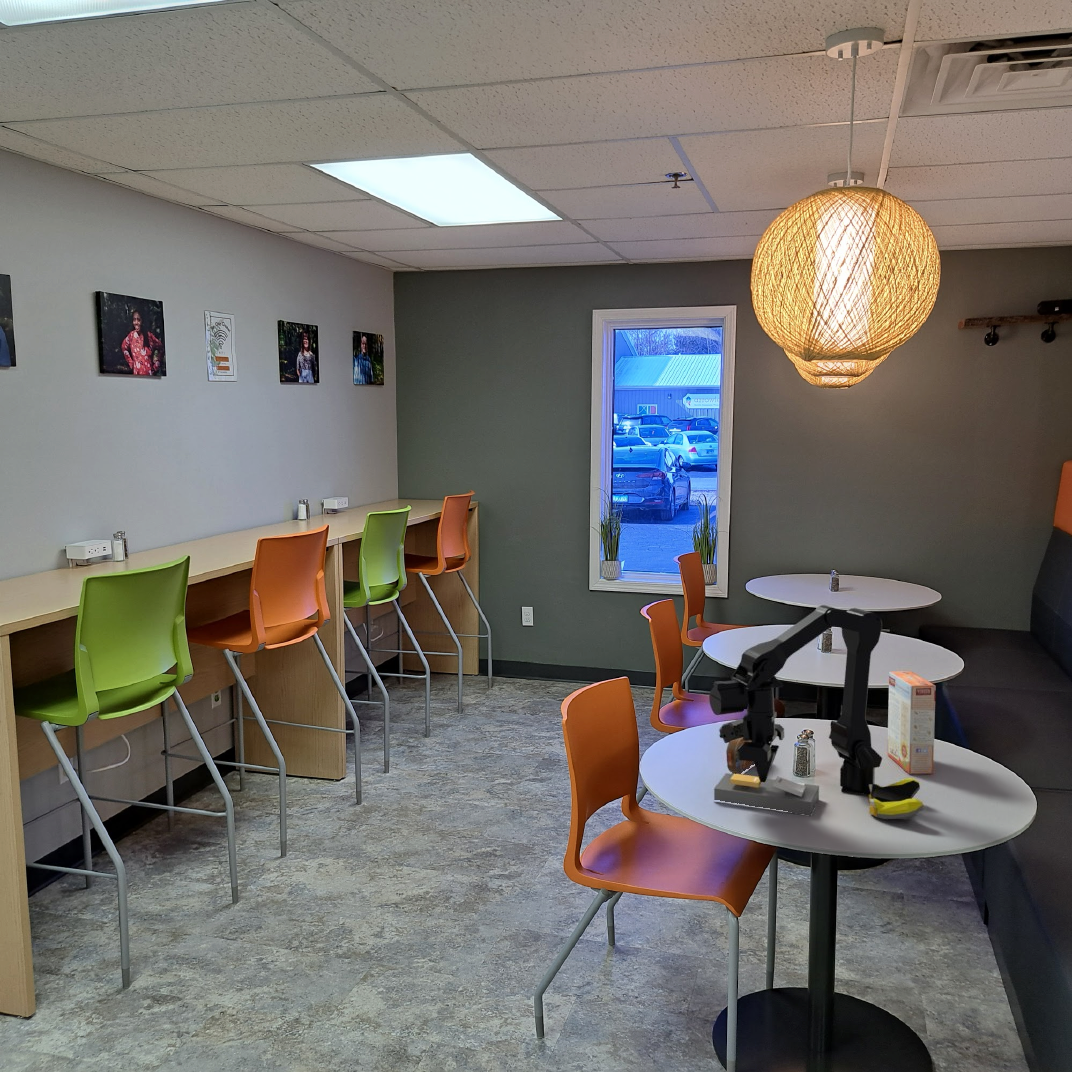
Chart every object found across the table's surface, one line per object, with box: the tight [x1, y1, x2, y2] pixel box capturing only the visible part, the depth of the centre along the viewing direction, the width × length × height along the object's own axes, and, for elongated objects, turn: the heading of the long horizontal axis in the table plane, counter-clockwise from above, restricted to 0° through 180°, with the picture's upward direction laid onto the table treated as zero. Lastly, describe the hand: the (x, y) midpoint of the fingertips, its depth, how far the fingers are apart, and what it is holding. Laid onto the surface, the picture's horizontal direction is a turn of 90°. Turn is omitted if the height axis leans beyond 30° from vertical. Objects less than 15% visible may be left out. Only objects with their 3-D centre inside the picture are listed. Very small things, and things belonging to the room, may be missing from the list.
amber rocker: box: [730, 773, 762, 788], centre depth 199 cm, size 6×4×1 cm, turn 64°
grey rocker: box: [773, 775, 805, 797], centre depth 195 cm, size 6×4×1 cm, turn 64°
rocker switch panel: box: [713, 773, 820, 817], centre depth 199 cm, size 20×10×4 cm, turn 64°
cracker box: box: [887, 670, 936, 775], centre depth 218 cm, size 14×6×21 cm, turn 179°
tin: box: [726, 737, 754, 774], centre depth 218 cm, size 15×3×8 cm, turn 143°
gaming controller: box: [868, 777, 924, 820], centre depth 191 cm, size 15×6×10 cm
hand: (763, 781), depth 197 cm, fingers closed, pressing on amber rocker
